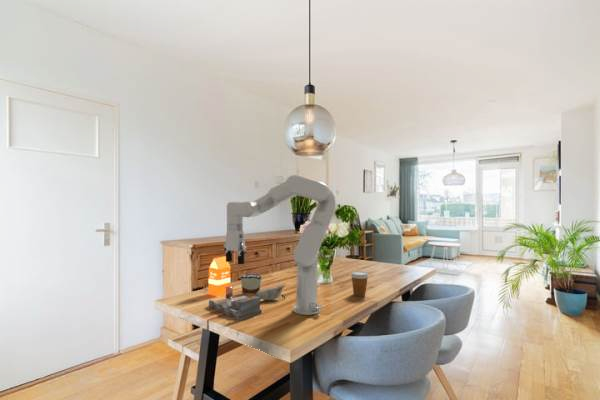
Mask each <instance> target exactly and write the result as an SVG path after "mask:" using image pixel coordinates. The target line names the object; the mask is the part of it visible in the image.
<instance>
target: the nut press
mask: <svg viewBox="0 0 600 400" xmlns="http://www.w3.org/2000/svg"><path fill="white" fill-rule="evenodd" d="M237 297H238V296H234V295H233V297H232V298H237ZM208 307H209V308H211V309H213V310H216V311H218V312H220V313H223V314H225V316H226V315H227V316H229V317H231V318H233V319H235V320H237V321H243V320H246V319H249V318H252V317H255V316H257V315H261V314H262V313H263V312H262V309H261V300H260V297H258V296H256V297H255V296H254V297H250V298H249V297H248V299H245V300H242V301H239V308H238V309H235V310H234V309H231V308H229V307H227V298H225V299H221V300H217V301H215V300H213V299H209V300H208Z"/></svg>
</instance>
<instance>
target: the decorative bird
mask: <svg viewBox="0 0 600 400" xmlns="http://www.w3.org/2000/svg"><path fill="white" fill-rule="evenodd" d="M285 287H286V284H282V285H280V284H279V285H277V286H275V287H269V288H265V289H260V290H259V291H258V292H257V293H256V294H254V295H255V296H254V297H256V296H258V297H260V301H261V300H262V301H265V302H266V301H273V300H275V299H278V298H279V297H280V296H281V298H282V299H283V300H286V299H285V298H286V295H284V294H285V292H283V289H284V288H285ZM282 292H283V293H282Z"/></svg>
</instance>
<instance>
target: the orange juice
mask: <svg viewBox="0 0 600 400" xmlns="http://www.w3.org/2000/svg"><path fill="white" fill-rule="evenodd" d="M226 286H231V265H230V262H226V255H225V256H219V257H214V258H213V259H212V261H211V263H210V265H209V266H208V295H211V296H213V297H217V298H218V297H222V296H226Z"/></svg>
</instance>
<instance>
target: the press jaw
mask: <svg viewBox="0 0 600 400" xmlns="http://www.w3.org/2000/svg"><path fill="white" fill-rule="evenodd" d="M233 288H234V287H233V285H230V286H226V294H225V299H227V307H229V308H231V309H234V310H235V309H238V308H239V301H242V300H245V299H249V297H248V296H247V295H246V296H245V295H242V296H236V297H237V298H232V297H233V296H234V294H233V290H234V289H233Z"/></svg>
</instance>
